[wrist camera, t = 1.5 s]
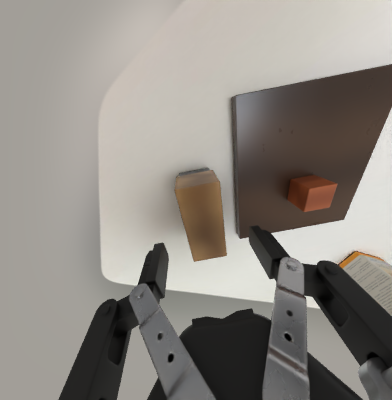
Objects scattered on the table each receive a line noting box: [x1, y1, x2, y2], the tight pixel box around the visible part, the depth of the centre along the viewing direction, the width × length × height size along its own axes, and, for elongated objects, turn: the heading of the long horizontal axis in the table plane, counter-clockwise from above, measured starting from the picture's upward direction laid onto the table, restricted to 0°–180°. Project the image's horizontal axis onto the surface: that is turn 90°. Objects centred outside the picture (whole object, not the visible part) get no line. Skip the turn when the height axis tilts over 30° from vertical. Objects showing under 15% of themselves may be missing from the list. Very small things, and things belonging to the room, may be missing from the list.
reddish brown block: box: [287, 175, 337, 212], centre depth 17 cm, size 3×3×3 cm
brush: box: [175, 168, 227, 262], centre depth 17 cm, size 4×10×6 cm, turn 10°
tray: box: [232, 64, 392, 239], centre depth 17 cm, size 18×16×1 cm
